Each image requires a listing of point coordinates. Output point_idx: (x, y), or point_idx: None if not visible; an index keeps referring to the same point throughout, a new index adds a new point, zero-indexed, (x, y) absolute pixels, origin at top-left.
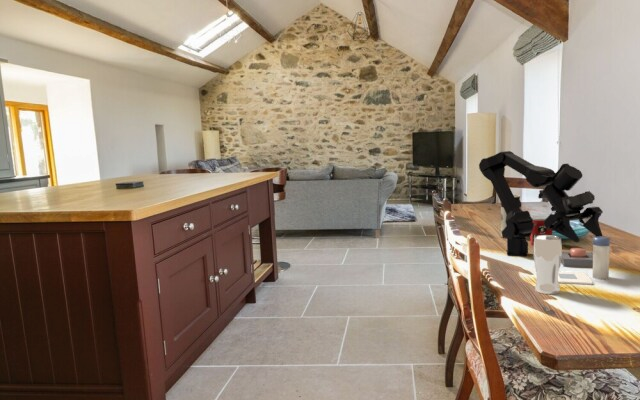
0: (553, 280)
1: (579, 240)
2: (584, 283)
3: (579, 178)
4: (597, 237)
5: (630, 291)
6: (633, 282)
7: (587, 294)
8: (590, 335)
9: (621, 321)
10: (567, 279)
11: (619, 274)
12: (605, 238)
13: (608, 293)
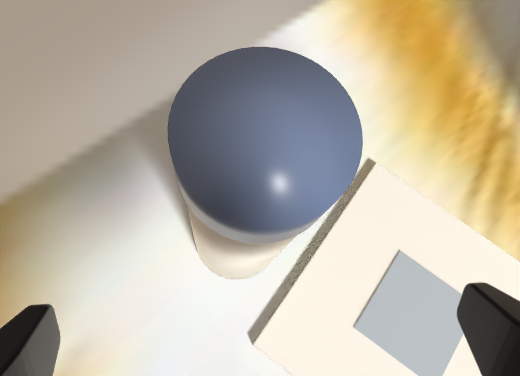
0: None
1: (472, 284)
2: (408, 187)
3: None
4: (297, 162)
5: (299, 34)
6: (165, 104)
7: (490, 86)
8: None
9: None
10: (454, 268)
11: (84, 234)
12: (267, 75)
13: (402, 57)
